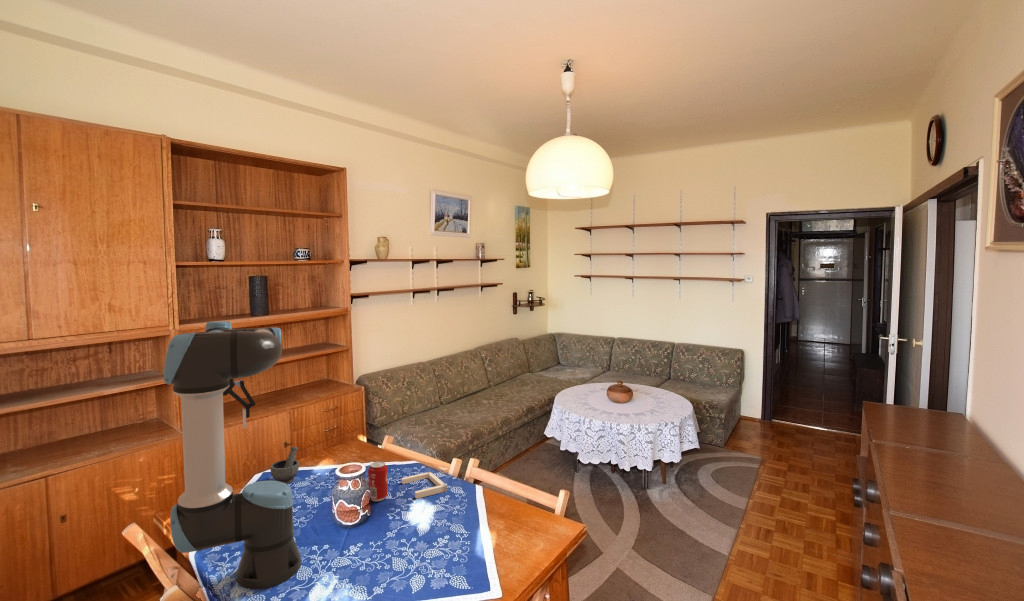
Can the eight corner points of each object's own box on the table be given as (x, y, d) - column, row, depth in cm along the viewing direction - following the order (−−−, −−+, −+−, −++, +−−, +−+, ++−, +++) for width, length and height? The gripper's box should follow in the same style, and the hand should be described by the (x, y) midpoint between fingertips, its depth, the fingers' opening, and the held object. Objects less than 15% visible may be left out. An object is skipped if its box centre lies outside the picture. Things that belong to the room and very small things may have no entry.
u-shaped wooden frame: (447, 491, 173) (447, 485, 173) (416, 498, 167) (416, 493, 167) (430, 476, 185) (430, 471, 185) (401, 483, 179) (401, 478, 179)
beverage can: (391, 497, 168) (390, 463, 168) (377, 504, 163) (376, 469, 162) (378, 492, 171) (378, 459, 171) (364, 499, 166) (364, 465, 166)
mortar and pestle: (286, 489, 175) (285, 456, 174) (264, 486, 177) (264, 453, 177) (307, 477, 185) (307, 446, 185) (287, 474, 188) (286, 443, 187)
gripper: (260, 362, 171) (261, 422, 172) (174, 369, 157) (176, 434, 158) (263, 365, 165) (264, 427, 166) (173, 373, 151) (175, 440, 152)
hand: (221, 431), depth 162 cm, fingers open, 13 cm apart
